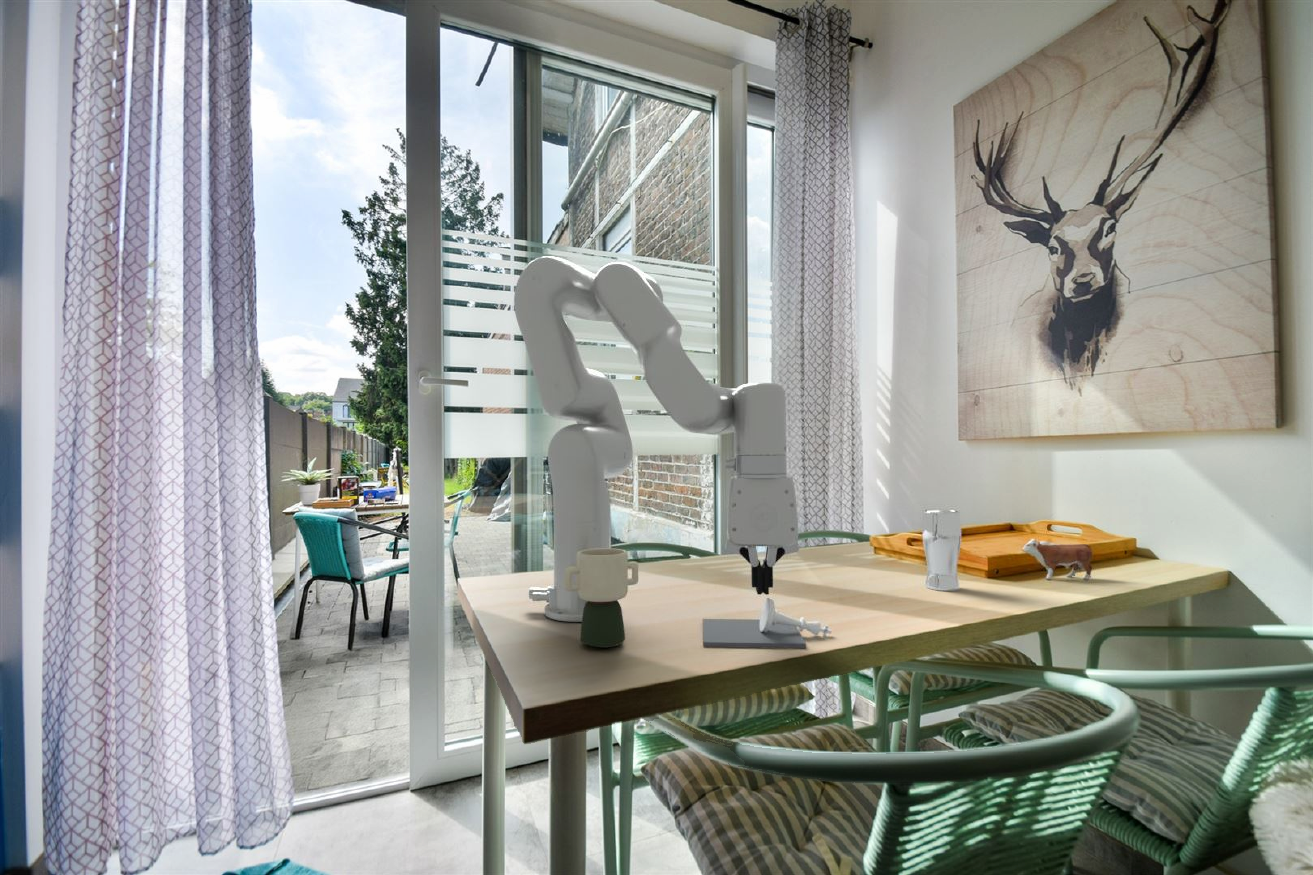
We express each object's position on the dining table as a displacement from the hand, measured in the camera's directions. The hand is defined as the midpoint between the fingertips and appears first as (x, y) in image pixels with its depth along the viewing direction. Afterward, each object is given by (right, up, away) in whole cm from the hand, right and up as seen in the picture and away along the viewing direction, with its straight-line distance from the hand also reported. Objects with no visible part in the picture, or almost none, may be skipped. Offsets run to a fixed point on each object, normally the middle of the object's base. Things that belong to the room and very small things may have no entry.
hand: (762, 592), depth 91 cm
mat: (-2, -6, 0) cm, 6 cm away
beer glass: (+40, -7, +30) cm, 51 cm away
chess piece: (0, -3, -1) cm, 3 cm away
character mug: (-23, -6, -5) cm, 24 cm away
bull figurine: (+69, -7, +39) cm, 79 cm away
